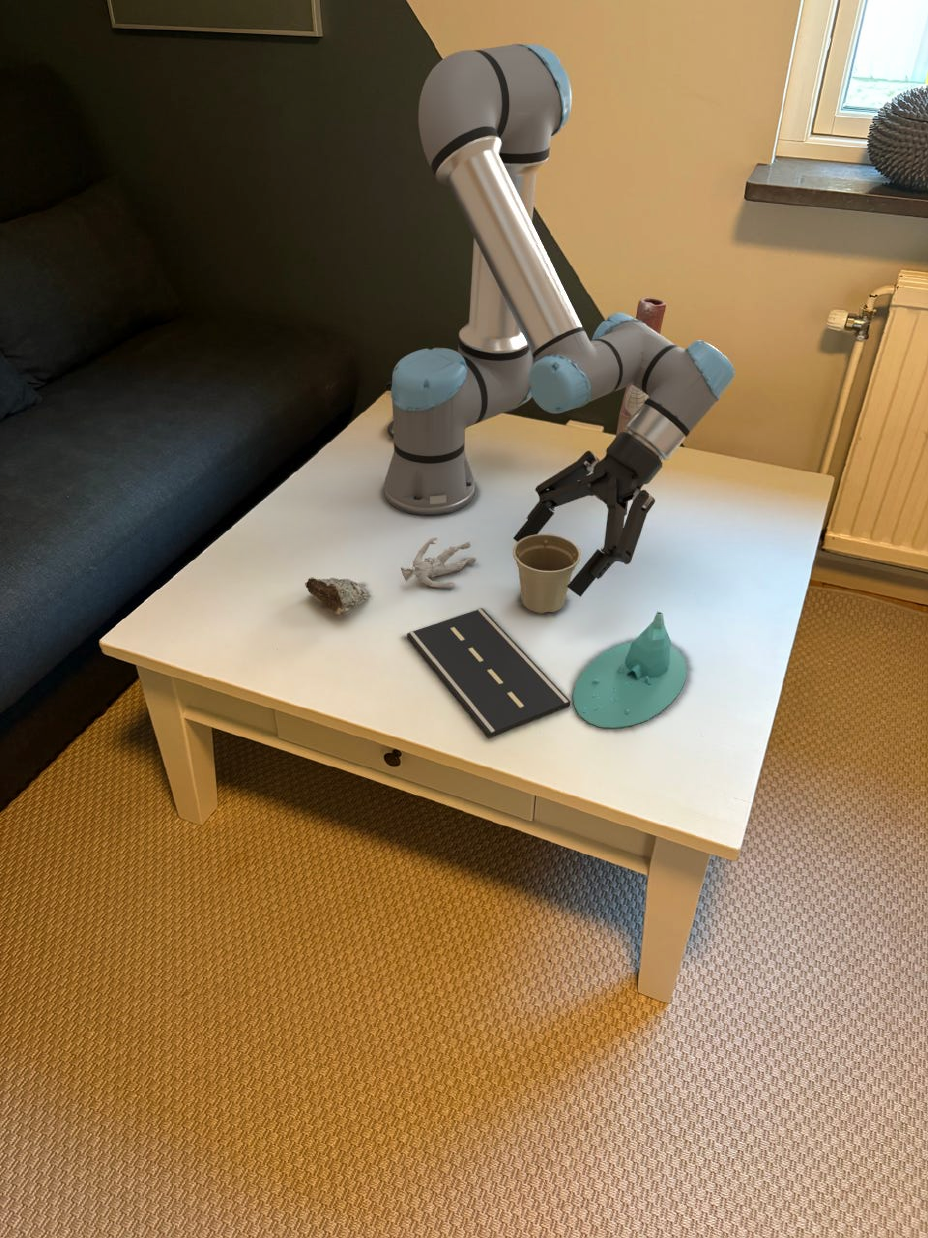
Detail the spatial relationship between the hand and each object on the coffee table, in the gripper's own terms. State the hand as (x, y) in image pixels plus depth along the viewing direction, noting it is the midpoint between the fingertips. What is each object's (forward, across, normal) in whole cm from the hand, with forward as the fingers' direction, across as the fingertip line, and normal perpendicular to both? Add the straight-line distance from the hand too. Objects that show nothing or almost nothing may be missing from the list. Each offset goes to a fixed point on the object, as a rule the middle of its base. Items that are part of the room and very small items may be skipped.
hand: (545, 566), depth 133 cm
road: (+15, -9, +6) cm, 18 cm away
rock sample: (+23, +14, +14) cm, 30 cm away
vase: (-20, +26, -30) cm, 44 cm away
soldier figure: (+11, +13, +2) cm, 18 cm away
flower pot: (+4, 0, -5) cm, 7 cm away
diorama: (+4, -20, -5) cm, 21 cm away
